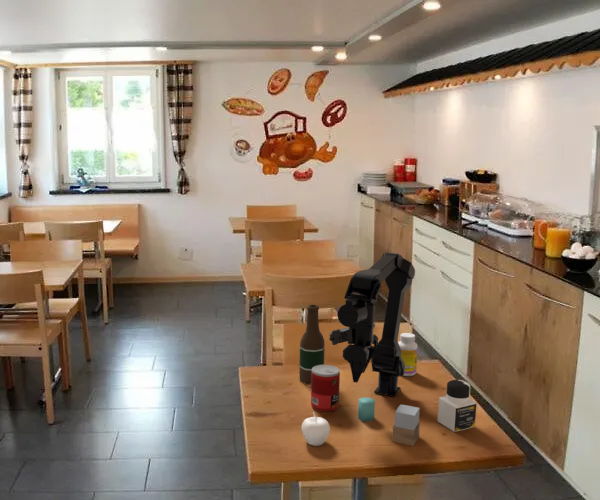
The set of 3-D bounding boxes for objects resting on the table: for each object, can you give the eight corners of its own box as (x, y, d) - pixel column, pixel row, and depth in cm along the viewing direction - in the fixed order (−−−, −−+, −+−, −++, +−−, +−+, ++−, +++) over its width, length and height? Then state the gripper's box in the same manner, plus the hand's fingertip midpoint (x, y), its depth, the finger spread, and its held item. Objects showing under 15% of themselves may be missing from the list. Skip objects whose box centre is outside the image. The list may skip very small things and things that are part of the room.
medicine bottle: (454, 432, 169) (457, 389, 167) (436, 421, 176) (439, 379, 173) (475, 427, 173) (478, 384, 170) (457, 416, 179) (460, 375, 177)
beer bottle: (308, 373, 208) (310, 300, 204) (328, 379, 204) (330, 305, 199) (294, 380, 202) (295, 306, 197) (314, 386, 198) (316, 310, 193)
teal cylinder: (361, 413, 180) (361, 396, 179) (376, 416, 178) (377, 399, 177) (355, 419, 176) (356, 402, 175) (371, 422, 174) (371, 405, 173)
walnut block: (398, 432, 169) (398, 418, 168) (418, 437, 167) (419, 422, 166) (392, 441, 164) (392, 427, 163) (413, 446, 162) (414, 431, 161)
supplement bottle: (417, 377, 206) (419, 338, 204) (396, 376, 207) (398, 338, 204) (415, 369, 213) (417, 332, 210) (394, 368, 213) (396, 331, 211)
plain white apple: (309, 433, 168) (310, 404, 166) (334, 440, 164) (335, 411, 163) (295, 444, 162) (296, 414, 160) (320, 452, 158) (321, 421, 157)
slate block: (399, 418, 168) (400, 404, 167) (418, 422, 166) (419, 407, 165) (394, 426, 164) (395, 411, 163) (413, 430, 162) (414, 415, 161)
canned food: (336, 413, 180) (337, 375, 178) (308, 410, 181) (309, 373, 179) (340, 402, 187) (341, 365, 185) (313, 399, 189) (314, 363, 186)
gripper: (341, 310, 183) (337, 364, 185) (325, 323, 166) (321, 382, 167) (380, 315, 180) (376, 369, 182) (368, 329, 162) (363, 389, 164)
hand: (358, 377), depth 174 cm, fingers open, 9 cm apart
